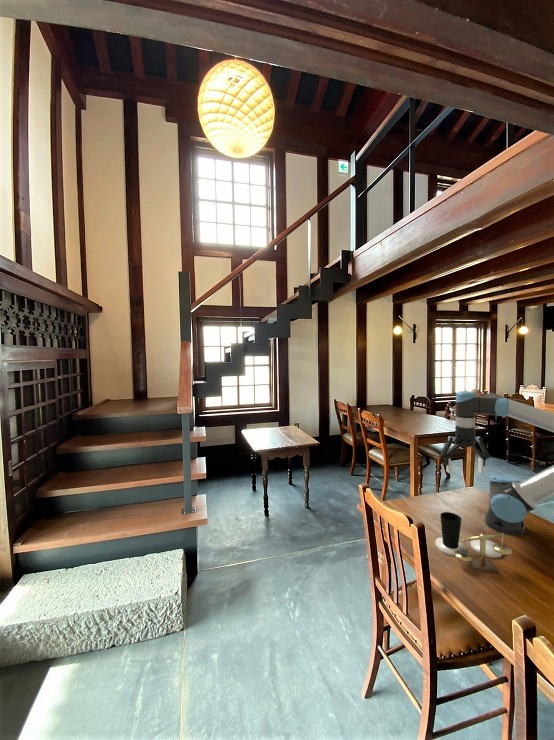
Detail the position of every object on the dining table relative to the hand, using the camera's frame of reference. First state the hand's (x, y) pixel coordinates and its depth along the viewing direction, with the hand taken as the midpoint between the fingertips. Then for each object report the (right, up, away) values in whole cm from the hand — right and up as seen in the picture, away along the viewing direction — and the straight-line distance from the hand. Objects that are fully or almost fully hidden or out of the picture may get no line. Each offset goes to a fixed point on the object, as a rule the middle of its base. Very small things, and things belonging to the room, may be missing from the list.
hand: (464, 472), depth 142 cm
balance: (-7, -28, -23) cm, 37 cm away
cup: (-12, -27, -11) cm, 31 cm away
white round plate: (+1, -28, -13) cm, 30 cm away
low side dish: (-12, -28, -11) cm, 32 cm away
